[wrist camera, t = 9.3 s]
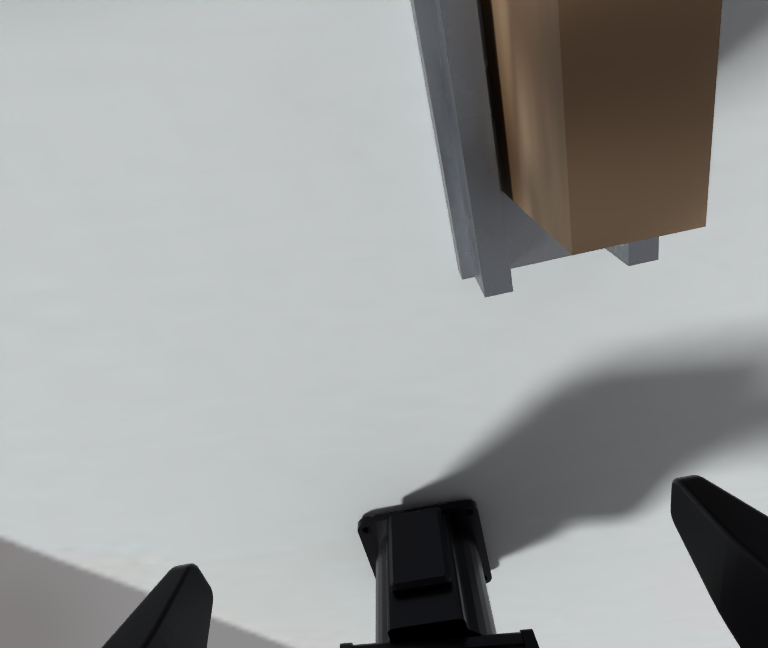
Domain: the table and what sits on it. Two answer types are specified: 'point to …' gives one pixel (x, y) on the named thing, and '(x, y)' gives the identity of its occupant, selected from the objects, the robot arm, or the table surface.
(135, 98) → the table surface
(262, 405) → the table surface
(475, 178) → the floor track
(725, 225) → the table surface
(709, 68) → the brown wooden block
